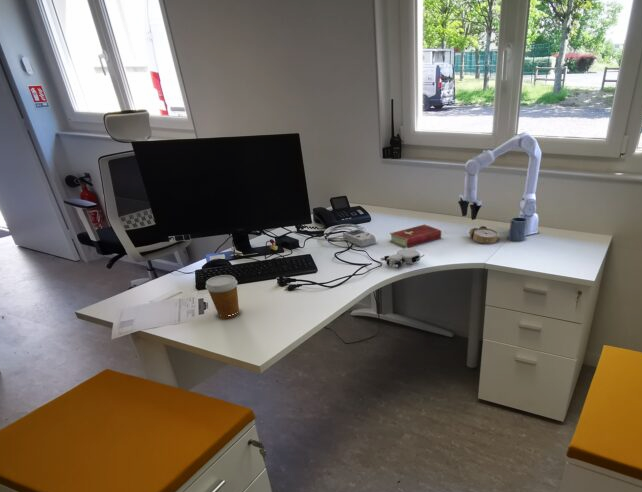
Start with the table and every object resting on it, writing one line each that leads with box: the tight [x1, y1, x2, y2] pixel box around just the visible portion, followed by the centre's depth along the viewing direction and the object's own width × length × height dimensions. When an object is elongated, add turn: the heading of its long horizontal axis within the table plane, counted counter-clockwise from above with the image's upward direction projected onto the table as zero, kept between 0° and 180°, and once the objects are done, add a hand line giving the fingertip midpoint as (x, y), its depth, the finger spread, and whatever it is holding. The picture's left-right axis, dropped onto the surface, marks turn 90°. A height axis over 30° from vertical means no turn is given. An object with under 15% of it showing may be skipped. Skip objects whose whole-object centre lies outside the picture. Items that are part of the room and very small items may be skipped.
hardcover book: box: [389, 223, 442, 248], centre depth 210 cm, size 12×21×4 cm, turn 130°
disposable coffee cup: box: [205, 274, 240, 320], centre depth 145 cm, size 10×10×12 cm
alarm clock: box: [468, 225, 501, 245], centre depth 211 cm, size 11×5×15 cm
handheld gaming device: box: [342, 228, 377, 248], centre depth 208 cm, size 9×15×4 cm, turn 41°
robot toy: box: [380, 247, 425, 268], centre depth 185 cm, size 12×4×15 cm
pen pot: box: [508, 216, 527, 242], centre depth 210 cm, size 7×7×9 cm
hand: (468, 217), depth 216 cm, fingers open, 6 cm apart
